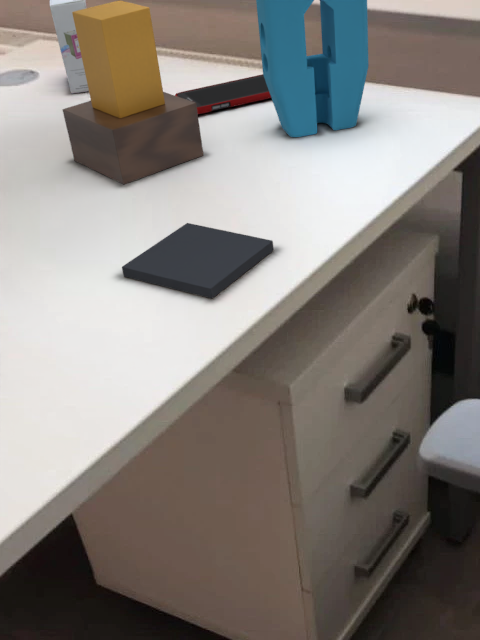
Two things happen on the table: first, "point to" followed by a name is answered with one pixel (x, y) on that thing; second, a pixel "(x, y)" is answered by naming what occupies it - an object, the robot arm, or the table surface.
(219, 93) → the cell phone
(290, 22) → the blue slotted bracket
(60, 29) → the ink box
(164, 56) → the table surface
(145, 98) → the ochre block
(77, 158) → the walnut block
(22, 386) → the table surface
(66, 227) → the table surface
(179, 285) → the grey mat
